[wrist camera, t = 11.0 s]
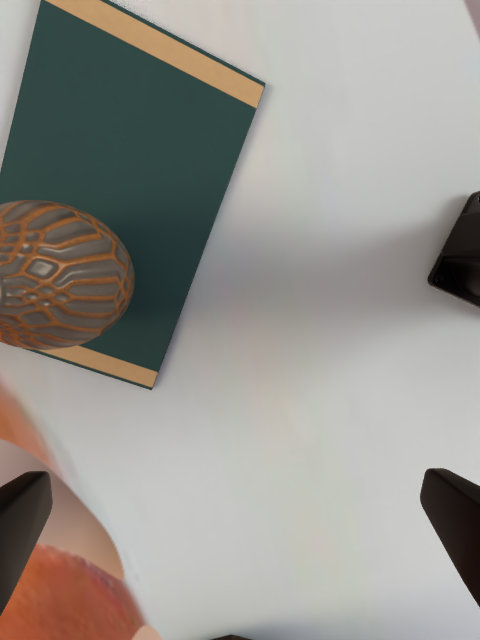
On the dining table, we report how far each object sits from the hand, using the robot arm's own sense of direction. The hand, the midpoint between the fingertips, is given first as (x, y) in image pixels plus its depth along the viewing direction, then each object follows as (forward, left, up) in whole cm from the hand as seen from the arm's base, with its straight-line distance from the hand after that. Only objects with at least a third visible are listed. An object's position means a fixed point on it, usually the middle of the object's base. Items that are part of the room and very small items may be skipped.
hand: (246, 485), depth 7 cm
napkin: (+10, -5, -13) cm, 17 cm away
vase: (+10, -1, -13) cm, 16 cm away
